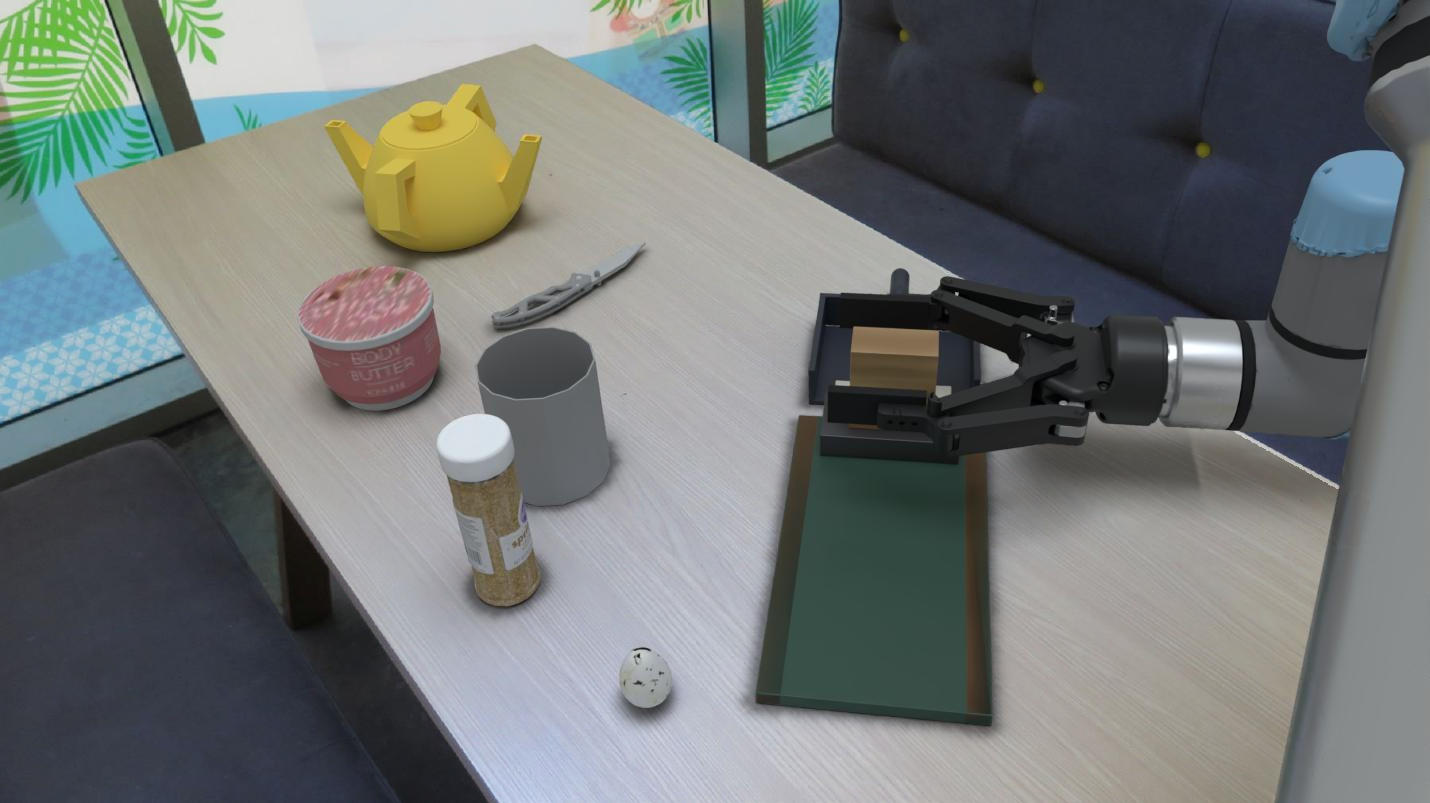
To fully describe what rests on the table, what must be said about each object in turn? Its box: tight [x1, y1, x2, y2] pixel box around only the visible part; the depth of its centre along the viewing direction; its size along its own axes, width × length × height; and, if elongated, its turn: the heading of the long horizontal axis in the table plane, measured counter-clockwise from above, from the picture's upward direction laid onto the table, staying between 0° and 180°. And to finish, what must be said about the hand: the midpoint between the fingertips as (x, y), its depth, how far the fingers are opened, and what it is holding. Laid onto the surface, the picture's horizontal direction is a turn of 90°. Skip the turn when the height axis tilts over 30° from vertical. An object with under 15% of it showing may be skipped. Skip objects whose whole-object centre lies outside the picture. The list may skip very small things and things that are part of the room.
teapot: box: [323, 83, 543, 253], centre depth 115 cm, size 17×17×12 cm
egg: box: [618, 646, 673, 709], centre depth 72 cm, size 3×3×5 cm
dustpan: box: [807, 267, 982, 406], centre depth 98 cm, size 16×13×3 cm
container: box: [297, 265, 442, 412], centre depth 97 cm, size 10×10×8 cm
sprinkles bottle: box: [435, 413, 542, 607], centre depth 77 cm, size 5×5×13 cm
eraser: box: [820, 327, 959, 464], centre depth 86 cm, size 5×10×9 cm, turn 81°
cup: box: [474, 326, 612, 507], centre depth 87 cm, size 8×8×10 cm
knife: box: [490, 242, 646, 330], centre depth 107 cm, size 2×18×3 cm
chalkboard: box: [755, 414, 994, 726], centre depth 81 cm, size 26×14×1 cm, turn 171°
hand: (834, 354), depth 85 cm, fingers open, 10 cm apart
